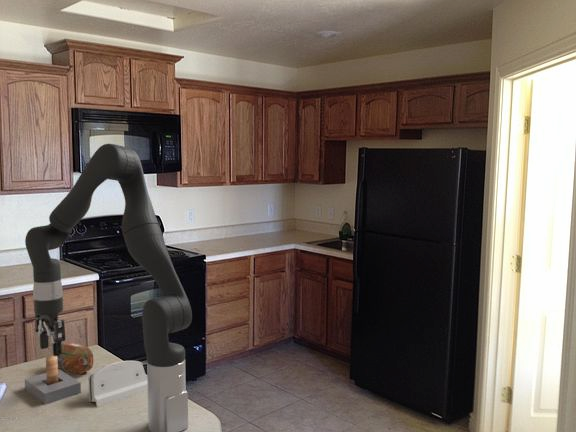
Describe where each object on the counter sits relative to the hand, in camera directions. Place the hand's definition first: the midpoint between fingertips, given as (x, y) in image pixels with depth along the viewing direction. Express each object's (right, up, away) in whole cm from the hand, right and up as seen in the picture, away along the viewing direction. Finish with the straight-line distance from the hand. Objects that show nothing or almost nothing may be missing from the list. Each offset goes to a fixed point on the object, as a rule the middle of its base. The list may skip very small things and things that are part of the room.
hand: (50, 351), depth 151 cm
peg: (0, -12, +1) cm, 12 cm away
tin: (0, -10, +17) cm, 19 cm away
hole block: (0, -12, +2) cm, 12 cm away
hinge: (+19, -12, 0) cm, 23 cm away
